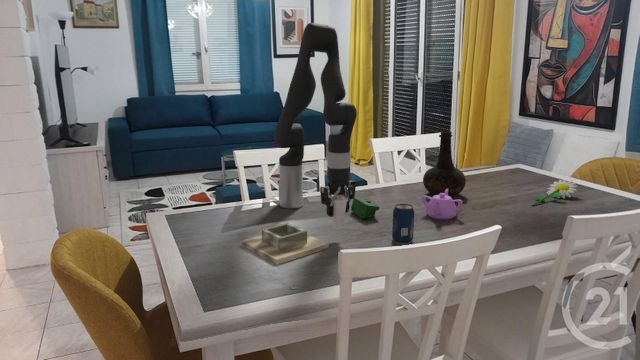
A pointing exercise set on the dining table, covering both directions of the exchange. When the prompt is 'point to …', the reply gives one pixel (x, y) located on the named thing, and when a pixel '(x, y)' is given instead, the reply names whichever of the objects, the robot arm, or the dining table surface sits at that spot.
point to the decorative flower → (558, 190)
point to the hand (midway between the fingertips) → (337, 213)
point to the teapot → (441, 206)
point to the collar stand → (284, 243)
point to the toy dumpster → (363, 208)
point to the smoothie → (339, 211)
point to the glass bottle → (444, 171)
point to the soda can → (403, 223)
